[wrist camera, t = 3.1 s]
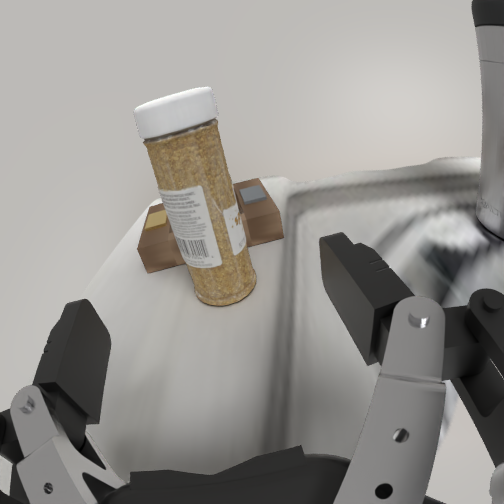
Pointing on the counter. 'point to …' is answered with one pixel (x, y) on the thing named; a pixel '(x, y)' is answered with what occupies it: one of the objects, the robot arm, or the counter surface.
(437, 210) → the counter surface
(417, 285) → the counter surface
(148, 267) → the socket block
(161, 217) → the brass tag
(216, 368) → the counter surface
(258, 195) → the slate tag
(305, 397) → the counter surface
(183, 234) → the sprinkles bottle
